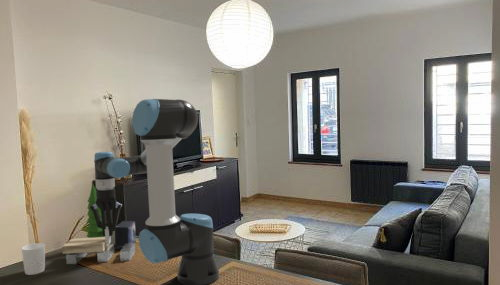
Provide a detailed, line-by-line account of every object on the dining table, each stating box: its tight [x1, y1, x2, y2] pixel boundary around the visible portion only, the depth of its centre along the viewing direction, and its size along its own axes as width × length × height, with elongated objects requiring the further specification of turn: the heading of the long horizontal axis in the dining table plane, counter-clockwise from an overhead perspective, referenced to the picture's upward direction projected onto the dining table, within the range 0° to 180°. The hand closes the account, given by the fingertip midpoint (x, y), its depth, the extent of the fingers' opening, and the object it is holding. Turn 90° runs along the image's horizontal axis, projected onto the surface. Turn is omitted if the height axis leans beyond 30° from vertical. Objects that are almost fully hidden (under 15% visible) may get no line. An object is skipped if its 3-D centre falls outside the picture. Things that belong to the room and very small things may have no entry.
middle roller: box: [96, 243, 115, 263], centre depth 160 cm, size 10×4×4 cm, turn 5°
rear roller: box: [119, 242, 136, 262], centre depth 161 cm, size 10×4×4 cm, turn 5°
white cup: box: [21, 242, 46, 276], centre depth 147 cm, size 8×8×10 cm
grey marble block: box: [65, 252, 88, 265], centre depth 159 cm, size 10×4×4 cm, turn 179°
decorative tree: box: [86, 182, 108, 238], centre depth 175 cm, size 10×9×30 cm
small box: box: [114, 220, 137, 251], centre depth 174 cm, size 11×6×10 cm, turn 179°
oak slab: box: [61, 236, 109, 255], centre depth 159 cm, size 10×16×3 cm, turn 95°
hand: (108, 243), depth 160 cm, fingers closed
